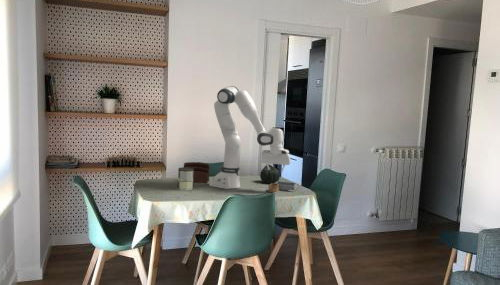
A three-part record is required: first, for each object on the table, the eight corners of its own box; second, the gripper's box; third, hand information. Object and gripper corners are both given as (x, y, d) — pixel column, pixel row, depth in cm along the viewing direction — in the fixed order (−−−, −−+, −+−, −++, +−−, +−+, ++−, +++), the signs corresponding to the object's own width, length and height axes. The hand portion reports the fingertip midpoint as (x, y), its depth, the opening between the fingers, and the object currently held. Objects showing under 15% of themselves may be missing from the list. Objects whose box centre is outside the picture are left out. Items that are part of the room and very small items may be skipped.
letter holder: (183, 179, 312) (184, 161, 311) (209, 181, 312) (210, 162, 310) (180, 182, 302) (181, 163, 301) (207, 183, 302) (208, 164, 300)
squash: (281, 178, 308) (279, 161, 317) (262, 178, 306) (260, 161, 315) (278, 187, 320) (276, 171, 329) (259, 188, 318) (257, 171, 326)
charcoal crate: (273, 189, 293) (273, 184, 292) (277, 186, 305) (277, 181, 305) (293, 191, 289) (294, 186, 288) (296, 188, 301) (297, 183, 301)
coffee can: (174, 188, 280) (175, 167, 279) (187, 186, 287) (187, 166, 286) (183, 191, 273) (184, 170, 271) (195, 189, 280) (196, 169, 279)
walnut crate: (268, 192, 284) (268, 185, 283) (271, 189, 292) (271, 183, 292) (276, 193, 282) (276, 186, 282) (278, 190, 291) (279, 183, 290)
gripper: (260, 150, 284) (260, 169, 285) (289, 152, 278) (288, 172, 280) (262, 149, 290) (262, 168, 291) (291, 151, 284) (290, 170, 286)
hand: (275, 170), depth 286 cm, fingers open, 8 cm apart
